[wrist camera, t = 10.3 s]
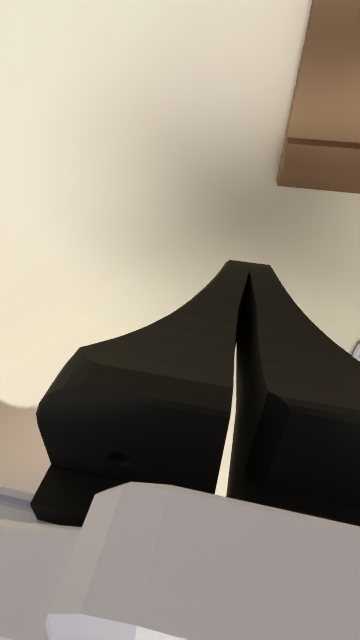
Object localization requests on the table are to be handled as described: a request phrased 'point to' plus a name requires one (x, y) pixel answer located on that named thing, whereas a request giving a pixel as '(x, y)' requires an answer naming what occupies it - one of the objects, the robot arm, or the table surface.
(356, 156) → the chute
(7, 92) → the table surface
